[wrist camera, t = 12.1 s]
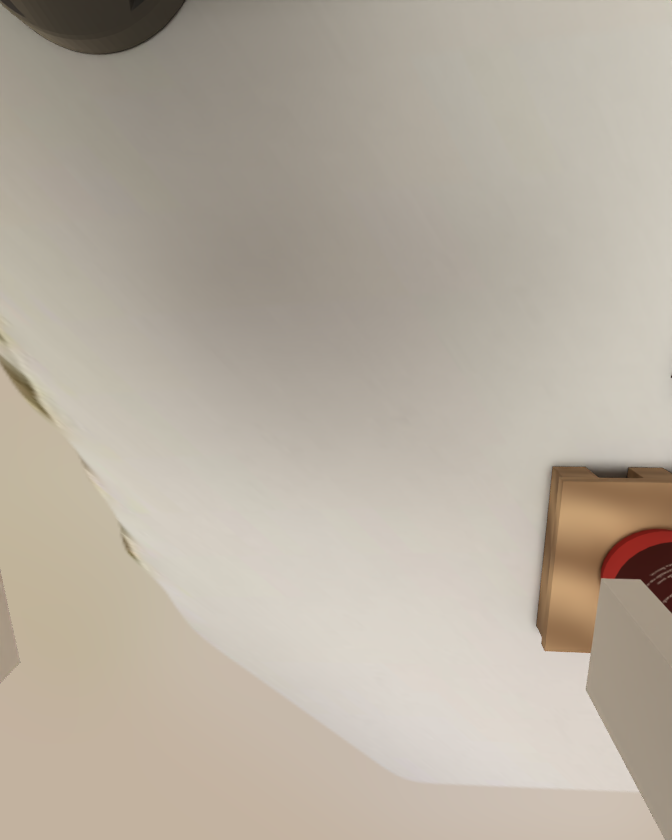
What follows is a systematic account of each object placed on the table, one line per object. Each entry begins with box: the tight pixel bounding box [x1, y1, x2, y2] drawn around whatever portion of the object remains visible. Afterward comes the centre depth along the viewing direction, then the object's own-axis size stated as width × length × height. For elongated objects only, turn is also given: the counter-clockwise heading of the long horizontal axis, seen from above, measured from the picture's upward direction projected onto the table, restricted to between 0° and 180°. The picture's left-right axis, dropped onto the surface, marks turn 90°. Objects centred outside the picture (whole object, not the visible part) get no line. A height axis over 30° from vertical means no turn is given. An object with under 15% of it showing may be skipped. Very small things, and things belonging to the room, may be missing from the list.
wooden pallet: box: [536, 467, 672, 653], centre depth 36 cm, size 14×14×3 cm
